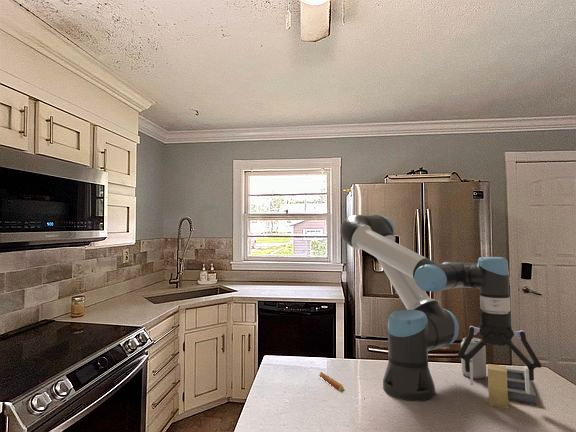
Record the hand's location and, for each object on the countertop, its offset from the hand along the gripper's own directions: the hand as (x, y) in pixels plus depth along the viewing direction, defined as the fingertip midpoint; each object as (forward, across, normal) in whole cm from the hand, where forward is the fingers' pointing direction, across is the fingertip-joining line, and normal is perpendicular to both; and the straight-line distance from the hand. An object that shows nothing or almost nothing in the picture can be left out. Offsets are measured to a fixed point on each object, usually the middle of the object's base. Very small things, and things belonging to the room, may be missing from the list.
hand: (499, 387), depth 102 cm
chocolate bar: (+5, -47, -8) cm, 48 cm away
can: (+4, -6, +20) cm, 22 cm away
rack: (+4, +5, +14) cm, 16 cm away
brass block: (+4, 0, 0) cm, 5 cm away
